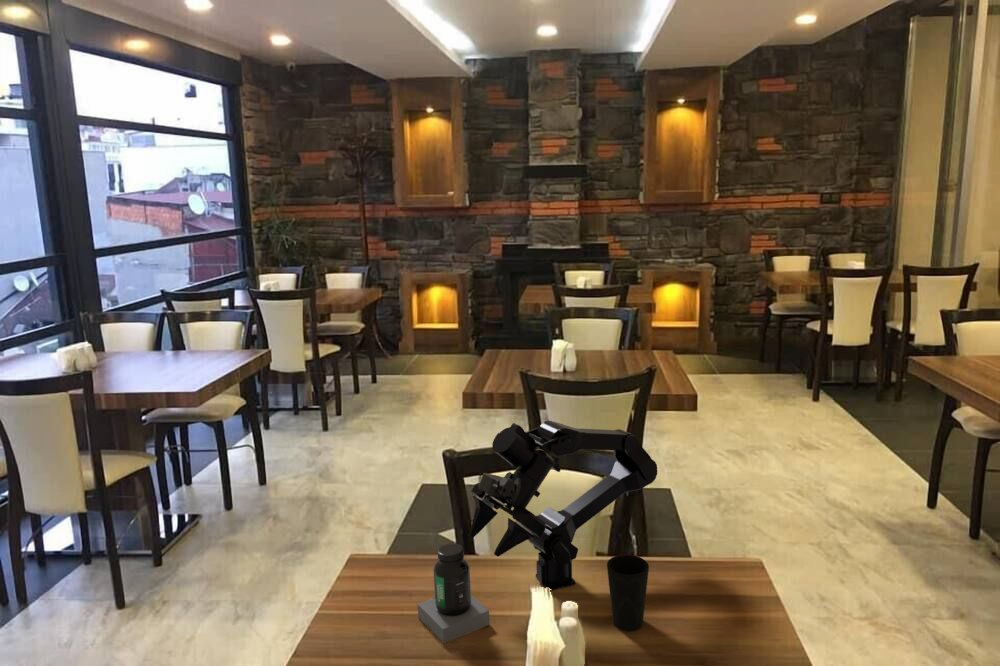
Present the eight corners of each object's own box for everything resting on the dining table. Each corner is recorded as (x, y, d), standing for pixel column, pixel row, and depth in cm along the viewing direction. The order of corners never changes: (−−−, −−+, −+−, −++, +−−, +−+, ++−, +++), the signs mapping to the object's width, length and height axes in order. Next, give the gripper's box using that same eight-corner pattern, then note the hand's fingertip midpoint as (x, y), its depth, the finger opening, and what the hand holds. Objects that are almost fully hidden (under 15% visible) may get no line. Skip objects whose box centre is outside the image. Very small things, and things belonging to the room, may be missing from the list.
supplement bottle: (440, 620, 138) (437, 561, 136) (431, 601, 145) (428, 544, 142) (475, 612, 140) (473, 554, 138) (465, 593, 147) (462, 537, 144)
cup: (648, 636, 136) (648, 577, 134) (606, 632, 138) (605, 573, 135) (648, 612, 144) (649, 555, 141) (608, 609, 145) (608, 553, 143)
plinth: (462, 600, 150) (462, 587, 149) (489, 624, 142) (489, 610, 141) (418, 618, 144) (417, 604, 144) (443, 643, 136) (442, 629, 136)
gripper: (477, 444, 151) (432, 509, 147) (530, 472, 136) (482, 546, 132) (510, 471, 157) (468, 534, 153) (565, 501, 142) (519, 572, 138)
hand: (482, 545), depth 144 cm, fingers open, 9 cm apart
